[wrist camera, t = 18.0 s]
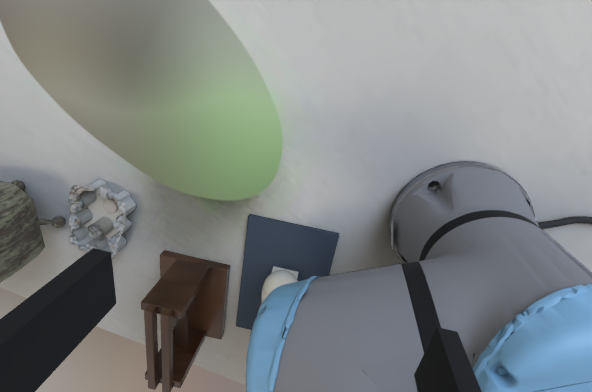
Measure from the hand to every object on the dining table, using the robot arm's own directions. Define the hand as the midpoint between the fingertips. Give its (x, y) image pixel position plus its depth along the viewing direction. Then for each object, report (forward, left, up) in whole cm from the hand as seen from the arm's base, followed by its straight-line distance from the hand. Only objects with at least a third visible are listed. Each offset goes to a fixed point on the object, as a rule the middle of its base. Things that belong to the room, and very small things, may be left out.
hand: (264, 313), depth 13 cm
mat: (+1, +21, -27) cm, 34 cm away
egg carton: (+27, +16, -27) cm, 41 cm away
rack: (+14, +27, -27) cm, 40 cm away
